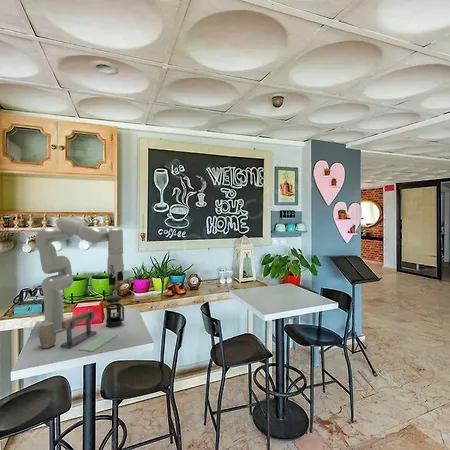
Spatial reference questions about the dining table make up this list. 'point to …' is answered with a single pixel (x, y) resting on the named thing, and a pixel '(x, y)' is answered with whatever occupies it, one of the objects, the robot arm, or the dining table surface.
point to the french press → (115, 317)
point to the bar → (76, 319)
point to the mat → (98, 342)
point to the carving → (47, 334)
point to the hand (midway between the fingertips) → (116, 282)
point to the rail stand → (79, 338)
